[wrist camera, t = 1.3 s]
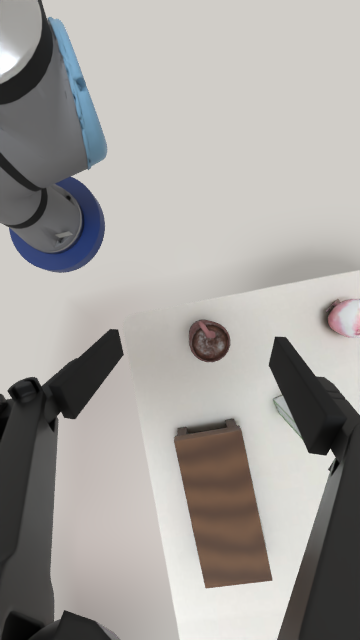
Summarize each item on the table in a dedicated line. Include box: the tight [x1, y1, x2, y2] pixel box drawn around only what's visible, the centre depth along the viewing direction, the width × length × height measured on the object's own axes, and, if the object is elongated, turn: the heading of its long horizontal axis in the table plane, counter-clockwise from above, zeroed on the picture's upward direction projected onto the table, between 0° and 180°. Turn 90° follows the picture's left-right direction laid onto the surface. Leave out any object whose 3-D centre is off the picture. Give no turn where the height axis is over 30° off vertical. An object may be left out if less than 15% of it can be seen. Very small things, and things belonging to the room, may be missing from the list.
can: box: [189, 320, 230, 362], centre depth 32 cm, size 6×6×14 cm
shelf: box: [174, 419, 272, 588], centre depth 37 cm, size 32×14×4 cm, turn 12°
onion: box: [326, 299, 360, 337], centre depth 33 cm, size 8×8×7 cm
